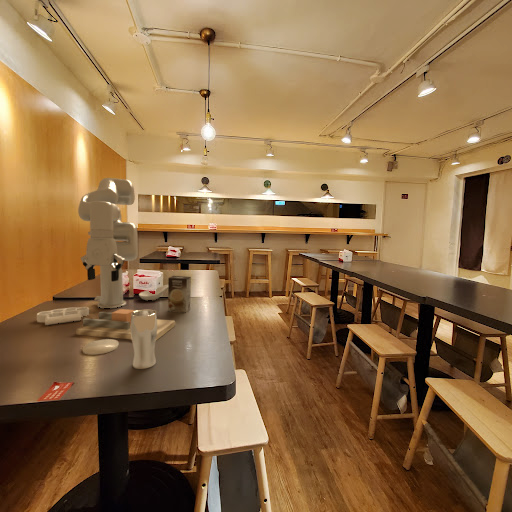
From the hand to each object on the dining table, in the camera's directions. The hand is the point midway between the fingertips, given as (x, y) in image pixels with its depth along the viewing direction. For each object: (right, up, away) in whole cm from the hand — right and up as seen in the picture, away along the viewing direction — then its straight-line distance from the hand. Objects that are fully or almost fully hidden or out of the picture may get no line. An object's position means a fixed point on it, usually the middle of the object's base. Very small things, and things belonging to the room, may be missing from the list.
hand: (103, 280), depth 102 cm
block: (+8, -17, 0) cm, 18 cm away
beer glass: (+26, -22, -25) cm, 42 cm away
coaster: (+8, -20, -16) cm, 27 cm away
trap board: (+10, -19, 0) cm, 21 cm away
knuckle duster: (-22, -18, +11) cm, 30 cm away
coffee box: (+21, -17, +27) cm, 38 cm away
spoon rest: (+5, -15, +49) cm, 52 cm away
